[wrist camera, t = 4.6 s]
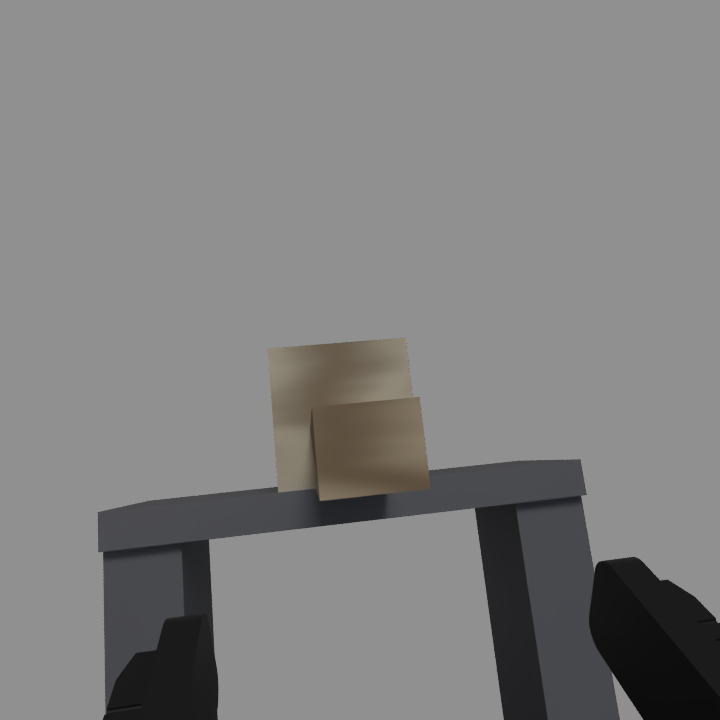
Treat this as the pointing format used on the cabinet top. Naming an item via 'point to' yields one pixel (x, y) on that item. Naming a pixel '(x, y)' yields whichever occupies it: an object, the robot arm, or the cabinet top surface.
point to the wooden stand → (448, 493)
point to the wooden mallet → (347, 419)
